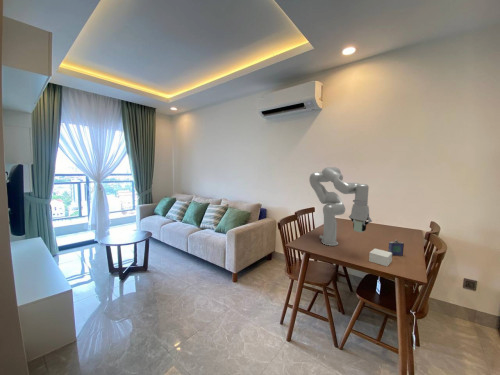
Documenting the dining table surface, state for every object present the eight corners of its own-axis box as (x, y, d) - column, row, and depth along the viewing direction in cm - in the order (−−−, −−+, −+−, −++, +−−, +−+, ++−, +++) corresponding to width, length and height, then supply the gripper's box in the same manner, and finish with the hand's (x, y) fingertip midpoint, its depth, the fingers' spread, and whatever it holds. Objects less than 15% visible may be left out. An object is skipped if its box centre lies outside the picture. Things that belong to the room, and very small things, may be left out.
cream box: (369, 261, 135) (369, 252, 134) (374, 256, 141) (374, 248, 141) (387, 266, 127) (387, 257, 127) (391, 261, 134) (392, 252, 133)
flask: (389, 255, 143) (390, 240, 142) (387, 253, 146) (387, 238, 145) (403, 256, 142) (405, 240, 141) (401, 254, 145) (402, 239, 144)
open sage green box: (353, 230, 141) (354, 219, 140) (357, 229, 144) (357, 218, 143) (361, 232, 137) (361, 221, 136) (364, 231, 140) (365, 220, 139)
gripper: (345, 201, 142) (344, 227, 144) (372, 205, 129) (370, 234, 131) (351, 200, 147) (349, 225, 149) (377, 204, 133) (375, 232, 135)
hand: (359, 229), depth 140 cm, fingers closed on open sage green box, 5 cm apart
